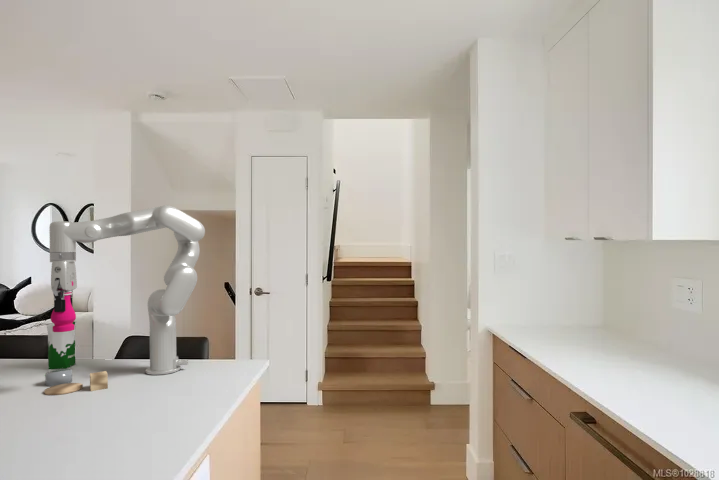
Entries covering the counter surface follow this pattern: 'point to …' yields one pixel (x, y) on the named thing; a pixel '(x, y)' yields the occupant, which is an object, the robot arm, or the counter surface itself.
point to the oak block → (98, 381)
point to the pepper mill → (64, 316)
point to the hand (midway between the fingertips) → (63, 310)
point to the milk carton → (61, 348)
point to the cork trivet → (63, 389)
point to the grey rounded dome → (58, 377)
